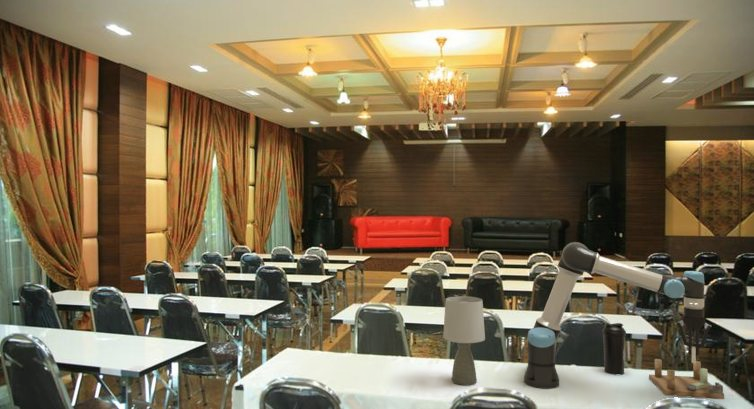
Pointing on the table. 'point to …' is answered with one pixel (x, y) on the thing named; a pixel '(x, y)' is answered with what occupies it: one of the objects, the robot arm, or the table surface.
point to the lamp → (464, 334)
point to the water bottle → (614, 348)
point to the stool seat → (684, 383)
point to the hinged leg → (702, 383)
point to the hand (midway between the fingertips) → (693, 362)
